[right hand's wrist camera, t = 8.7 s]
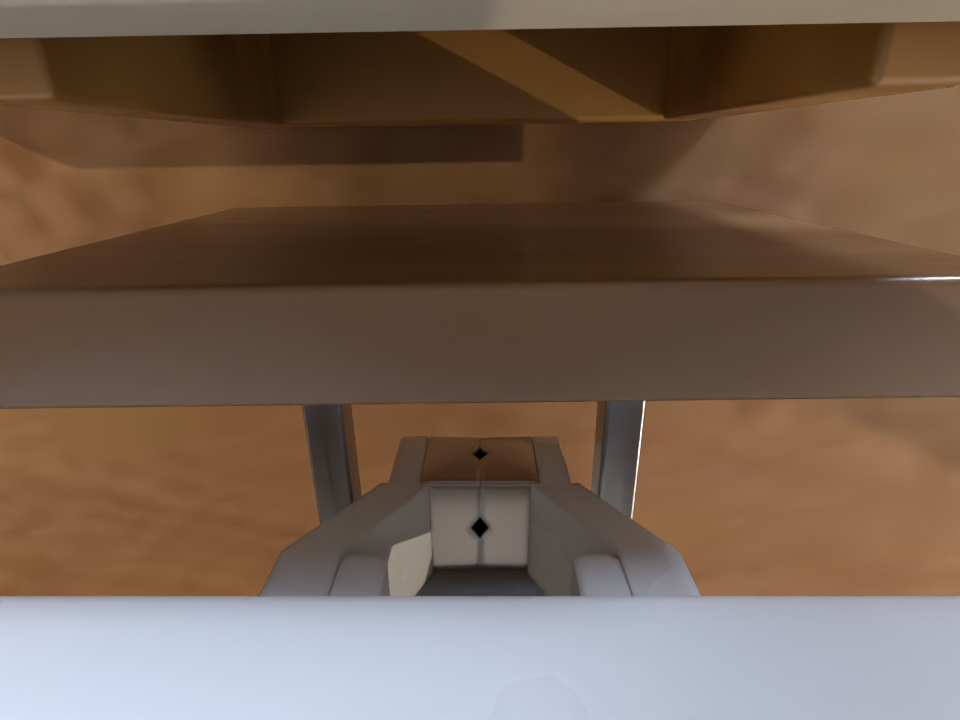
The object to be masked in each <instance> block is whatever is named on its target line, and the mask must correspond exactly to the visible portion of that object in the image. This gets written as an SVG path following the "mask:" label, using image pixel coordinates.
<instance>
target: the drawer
mask: <svg viewBox="0 0 960 720" xmlns="http://www.w3.org/2000/svg"><path fill="white" fill-rule="evenodd" d="M958 84H960V21H948V22H892V23H836V24H779V25H723V26H667V27H611V28H555V29H498V30H442V31H386V32H330V33H273V34H217V35H161V36H105V37H49V38H0V106H11V107H23V108H34V109H46V110H57V111H68V112H80V113H91V114H103V115H114V116H126V117H137V118H148V119H160V120H171V121H183V122H194V123H205V124H217V125H228V126H240V127H253V128H297V127H358V126H419V125H480V124H541V123H602V122H664V121H691V120H699V119H707V118H715V117H723V116H730V115H738V114H746V113H754V112H761V111H769V110H777V109H784V108H792V107H800V106H808V105H815V104H823V103H831V102H839V101H846V100H854V99H862V98H870V97H877V96H885V95H893V94H900V93H908V92H916V91H924V90H931V89H939V88H947V87H953V86H955V85H958ZM913 397H960V257H958V256H954V255H950V254H945V253H941V252H936V251H932V250H928V249H923V248H919V247H915V246H910V245H906V244H901V243H897V242H893V241H888V240H884V239H879V238H875V237H871V236H866V235H862V234H858V233H853V232H849V231H844V230H840V229H836V228H831V227H827V226H823V225H818V224H814V223H809V222H805V221H801V220H796V219H792V218H787V217H783V216H779V215H774V214H770V213H766V212H761V211H757V210H752V209H748V208H744V207H739V206H735V205H730V204H726V203H722V202H717V201H664V202H599V203H533V204H467V205H401V206H335V207H270V208H234V209H230V210H226V211H222V212H218V213H214V214H209V215H205V216H201V217H197V218H193V219H189V220H185V221H181V222H177V223H173V224H169V225H165V226H161V227H157V228H153V229H148V230H144V231H140V232H136V233H132V234H128V235H124V236H120V237H116V238H112V239H108V240H104V241H100V242H96V243H91V244H87V245H83V246H79V247H75V248H71V249H67V250H63V251H59V252H55V253H51V254H47V255H43V256H39V257H34V258H30V259H26V260H22V261H18V262H14V263H10V264H6V265H2V266H0V409H16V408H97V407H179V406H260V405H302V409H303V415H304V422H305V428H306V435H307V441H308V448H309V454H310V461H311V467H312V474H313V480H314V487H315V493H316V500H317V506H318V513H319V519H320V524H322V523H323V522H325V521H326V520H328V519H329V518H331V517H332V516H334V515H335V514H337V513H338V512H340V511H341V510H343V509H344V508H346V507H347V506H348V505H350V504H351V503H353V502H354V501H356V500H357V499H359V498H360V497H362V496H361V487H360V478H359V470H358V461H357V453H356V444H355V435H354V427H353V418H352V410H351V404H424V403H505V402H587V401H598V406H597V419H596V433H595V446H594V460H593V473H592V487H591V492H592V493H594V494H595V495H597V496H598V497H600V498H601V499H603V500H604V501H606V502H607V503H608V504H610V505H611V506H613V507H614V508H616V509H617V510H619V511H620V512H622V513H623V514H625V515H626V516H628V517H629V518H630V519H632V520H633V512H634V503H635V494H636V485H637V476H638V467H639V458H640V449H641V440H642V431H643V422H644V413H645V404H646V401H668V400H750V399H832V398H913ZM527 571H528V570H447V571H433V574H432V575H431V576H430V577H429V579H428V580H427V581H426V582H425V583H424V585H423V586H422V587H421V588H420V590H419V591H418V592H417V593H416V595H415V596H546V595H545V594H544V593H543V592H542V590H541V589H540V588H539V587H538V585H537V584H536V583H535V582H534V581H533V579H532V578H531V577H530V576H529V574H528V573H527Z"/></svg>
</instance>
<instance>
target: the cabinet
mask: <svg viewBox="0 0 960 720" xmlns="http://www.w3.org/2000/svg"><path fill="white" fill-rule="evenodd" d="M948 21H960V0H0V38H49V37H105V36H161V35H217V34H273V33H330V32H386V31H442V30H498V29H555V28H611V27H667V26H723V25H779V24H836V23H892V22H948Z"/></svg>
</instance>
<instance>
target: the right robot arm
mask: <svg viewBox="0 0 960 720" xmlns="http://www.w3.org/2000/svg"><path fill="white" fill-rule="evenodd" d="M447 570H528V571H527V573H528V574H529V576H530V577H531V578H532V579H533V581H534V582H535V583H536V584H537V585H538V587H539V588H540V589H541V590H542V592H543V593H544V594H545V595H546V596H415V595H416V593H417V592H418V591H419V590H420V588H421V587H422V586H423V585H424V583H425V582H426V581H427V580H428V579H429V577H430V576H431V575H432V574H433V571H447ZM0 720H960V596H701V595H700V593H699V591H698V589H697V587H696V585H695V582H694V580H693V578H692V576H691V574H690V572H689V570H688V568H687V566H686V564H685V562H684V560H683V558H682V556H681V554H680V552H679V551H677V550H676V549H674V548H673V547H672V546H670V545H669V544H667V543H666V542H664V541H663V540H661V539H660V538H658V537H657V536H655V535H654V534H652V533H651V532H650V531H648V530H647V529H645V528H644V527H642V526H641V525H639V524H638V523H636V522H635V521H633V520H632V519H630V518H629V517H628V516H626V515H625V514H623V513H622V512H620V511H619V510H617V509H616V508H614V507H613V506H611V505H610V504H608V503H607V502H606V501H604V500H603V499H601V498H600V497H598V496H597V495H595V494H594V493H592V492H591V491H589V490H588V489H586V488H585V487H584V486H582V485H581V484H579V483H571V480H570V476H569V473H568V469H567V466H566V462H565V458H564V455H563V451H562V448H561V444H560V440H559V438H558V437H557V436H542V437H495V438H480V437H428V436H406V437H402V438H401V440H400V443H399V447H398V451H397V454H396V458H395V462H394V465H393V469H392V473H391V476H390V480H389V483H381V484H379V485H378V486H377V487H375V488H374V489H372V490H371V491H369V492H368V493H366V494H365V495H363V496H362V497H360V498H359V499H357V500H356V501H354V502H353V503H351V504H350V505H348V506H347V507H346V508H344V509H343V510H341V511H340V512H338V513H337V514H335V515H334V516H332V517H331V518H329V519H328V520H326V521H325V522H323V523H322V524H320V525H319V526H318V527H316V528H315V529H313V530H312V531H310V532H309V533H307V534H306V535H304V536H303V537H301V538H300V539H298V540H297V541H295V542H294V543H292V544H291V545H289V546H288V547H287V548H285V549H284V550H282V551H281V552H280V555H279V557H278V559H277V561H276V563H275V565H274V567H273V569H272V571H271V573H270V575H269V577H268V579H267V581H266V583H265V585H264V587H263V589H262V591H261V593H260V595H259V596H0Z"/></svg>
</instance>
